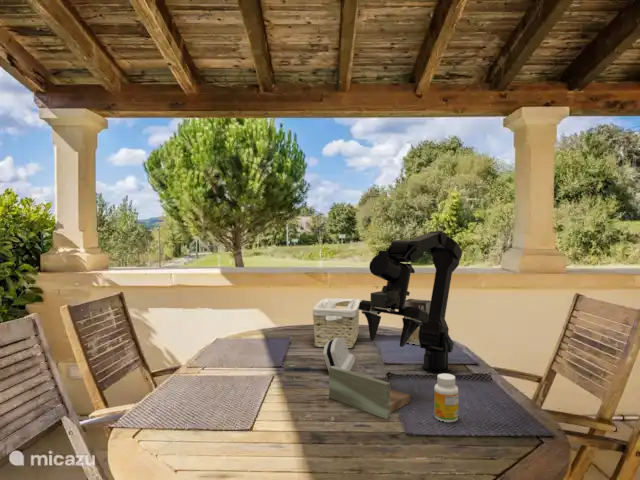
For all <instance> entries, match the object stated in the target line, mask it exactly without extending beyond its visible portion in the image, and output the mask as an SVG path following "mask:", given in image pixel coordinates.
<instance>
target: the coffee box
mask: <svg viewBox="0 0 640 480" xmlns="http://www.w3.org/2000/svg"><path fill="white" fill-rule="evenodd" d="M430 303H431V300H426V299H415V298H409V299H406V301H405V307H407V306H408V307H415V308H420V309H422V310H425V311H427V312H428V314H429V309H430ZM403 318H407V317H406V316H403ZM419 329H420V325H419V326H418V328H417V329H416V330H415V331H414V332H413V333H412V335H411V336H410V338H409V339H408V340H407V342H406V343H409V344H408V345H412V344H415V345H414V346H418V345H420V342H419V337H418V333H419Z"/></svg>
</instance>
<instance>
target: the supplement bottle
mask: <svg viewBox="0 0 640 480" xmlns="http://www.w3.org/2000/svg"><path fill="white" fill-rule="evenodd" d="M436 381H437V383H435V385H434V388H433V389H434V390H433V395H434V397H433V398H434V399H433V401H434V403H433V408H434V409H433V416H434V419H436V420H437V421H439V420H440V422H442V421H444V422H443V423H454V422H457V421H458V419H459V387H458V386H457V385H456V376H455V375H454V374H451V373H438V374H437V379H436Z"/></svg>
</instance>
